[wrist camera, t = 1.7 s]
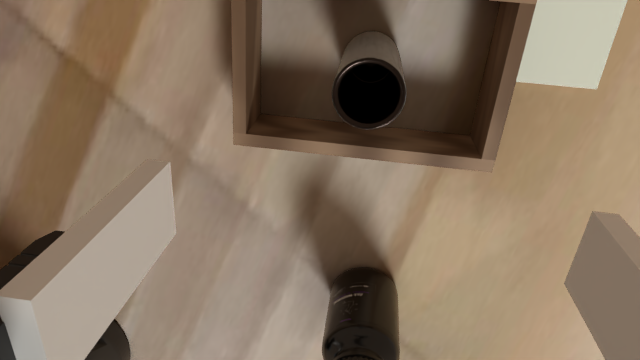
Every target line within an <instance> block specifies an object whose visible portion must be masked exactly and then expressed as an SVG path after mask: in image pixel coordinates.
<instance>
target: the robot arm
mask: <svg viewBox="0 0 640 360" xmlns="http://www.w3.org/2000/svg"><path fill="white" fill-rule="evenodd" d="M175 234H176V224H175V213H174V201H173V189H172V178H171V166H170V162H169V161H161V160H152V159H147V160H145V161H144V162H143V163H142V164H141V165H140V166H139V167H138V168H137V169H135V170H134V171H133V172H132V173H131V174H130V175H129V176H128V177H126V178H125V179H124V180H123V181H122V182H121V183H120V184H119V185H117V186H116V187H115V188H114V189H113V190H112V191H111V192H110V193H108V194H107V195H106V196H105V197H104V198H103V199H102V200H101V201H99V202H98V203H97V204H96V205H95V206H94V207H93V208H92V209H90V210H89V211H88V212H87V213H86V214H85V215H84V216H83V217H81V218H80V219H79V220H78V221H77V222H76V223H75V224H74V225H72V226H71V227H70V228H69V229H68V230H67V231H66V232H63V231H54V232H52V233H50V234H48V235H45V236H43V237H41V238H39V239H37V240H35V241H34V242H33V243H32V244H31V245H29V246H28V247H27V248H26V249H25V250H23V251H22V252H21V255H17V256H16V257H15V258H14V259H13V260H11V261H10V262H9V265H8V266H4V267H3V268H2V269H1V270H0V360H130V348H129V344H128V341H127V339H126V337H125V335H124V333H123V331H122V330H121V328H120V327H119V326H118V325H117V323H116V322H115V321H114V318H115V317H116V315H117V314H118V313H119V311H120V310H121V309H122V307H123V306H124V304H125V303H126V302H127V300H128V299H129V298H130V296H131V295H132V293H133V292H134V291H135V289H136V288H137V287H138V285H139V284H140V282H141V281H142V280H143V278H144V277H145V276H146V274H147V273H148V271H149V270H150V269H151V267H152V266H153V265H154V263H155V262H156V260H157V259H158V258H159V256H160V255H161V254H162V252H163V251H164V249H165V248H166V247H167V245H168V244H169V243H170V241H171V240H172V238H173V237H174V236H175ZM564 284H565V286H566V288H567V290H568V292H569V293H570V295H571V297H572V299H573V301H574V303H575V304H576V306H577V308H578V310H579V312H580V314H581V316H582V317H583V319H584V321H585V323H586V325H587V327H588V328H589V330H590V332H591V334H592V336H593V338H594V340H595V341H596V343H597V345H598V347H599V349H600V351H601V352H602V354H603V356H604V358H605V360H640V237H639V236H638V235H637V234H636V233H635V232H634V231H633V229H632V228H631V227H630V226H629V225H628V224H627V223H626V222H625V220H624V219H623V218H622V217H621V216H620V215H619V214H613V213H604V212H595V211H592V214H591V216H590V219H589V221H588V224H587V226H586V229H585V232H584V234H583V237H582V239H581V242H580V244H579V247H578V249H577V252H576V255H575V257H574V260H573V262H572V265H571V267H570V270H569V272H568V275H567V278H566V280H565V283H564Z"/></svg>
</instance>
